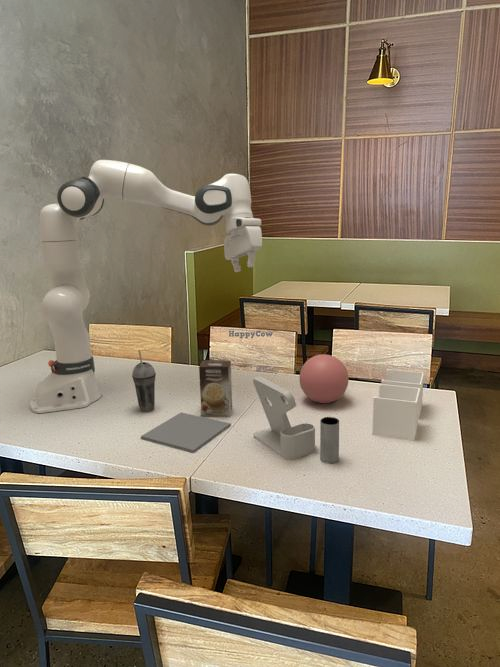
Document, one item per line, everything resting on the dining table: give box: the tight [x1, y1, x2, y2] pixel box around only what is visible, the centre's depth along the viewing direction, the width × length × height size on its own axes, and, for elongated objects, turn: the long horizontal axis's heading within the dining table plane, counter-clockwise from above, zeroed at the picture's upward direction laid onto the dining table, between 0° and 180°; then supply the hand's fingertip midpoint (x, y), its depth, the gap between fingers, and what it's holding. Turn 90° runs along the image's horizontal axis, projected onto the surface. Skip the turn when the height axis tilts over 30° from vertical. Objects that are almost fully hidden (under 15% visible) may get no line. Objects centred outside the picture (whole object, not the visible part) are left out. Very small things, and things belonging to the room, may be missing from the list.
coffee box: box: [198, 359, 233, 418], centre depth 150 cm, size 9×6×16 cm
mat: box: [140, 412, 232, 454], centre depth 139 cm, size 18×18×1 cm
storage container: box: [372, 368, 425, 441], centre depth 142 cm, size 25×11×11 cm, turn 157°
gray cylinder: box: [319, 416, 340, 464], centre depth 120 cm, size 4×4×10 cm
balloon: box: [298, 353, 349, 404], centre depth 158 cm, size 15×20×15 cm
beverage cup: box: [131, 349, 157, 413], centre depth 153 cm, size 7×7×20 cm
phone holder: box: [252, 375, 318, 461], centre depth 128 cm, size 17×10×18 cm, turn 32°
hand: (244, 269), depth 156 cm, fingers open, 8 cm apart
